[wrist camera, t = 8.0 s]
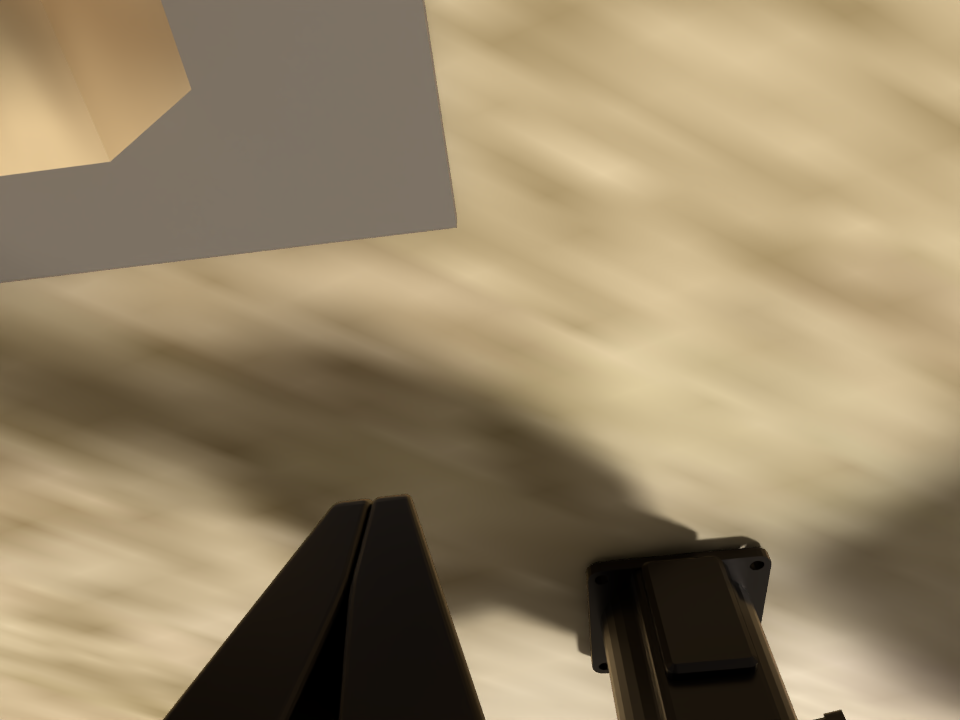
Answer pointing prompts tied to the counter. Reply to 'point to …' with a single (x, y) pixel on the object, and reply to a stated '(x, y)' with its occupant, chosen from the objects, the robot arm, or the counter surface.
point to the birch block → (82, 79)
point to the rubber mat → (255, 145)
